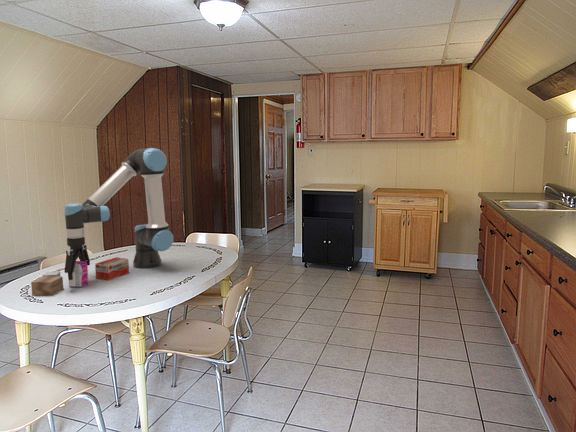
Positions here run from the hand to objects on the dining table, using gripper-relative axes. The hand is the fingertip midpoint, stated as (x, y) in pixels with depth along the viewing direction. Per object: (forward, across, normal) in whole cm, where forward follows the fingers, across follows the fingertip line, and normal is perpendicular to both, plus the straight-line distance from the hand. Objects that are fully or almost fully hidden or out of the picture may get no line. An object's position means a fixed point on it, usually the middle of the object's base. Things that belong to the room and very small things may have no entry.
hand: (78, 282), depth 205 cm
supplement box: (+2, 0, 0) cm, 2 cm away
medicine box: (+2, -18, +8) cm, 20 cm away
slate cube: (+2, 0, -13) cm, 13 cm away
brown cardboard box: (+2, +10, -9) cm, 14 cm away
